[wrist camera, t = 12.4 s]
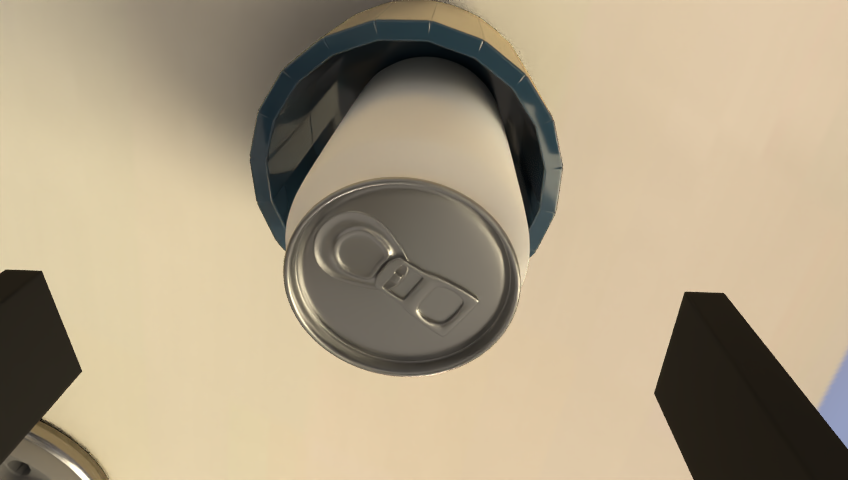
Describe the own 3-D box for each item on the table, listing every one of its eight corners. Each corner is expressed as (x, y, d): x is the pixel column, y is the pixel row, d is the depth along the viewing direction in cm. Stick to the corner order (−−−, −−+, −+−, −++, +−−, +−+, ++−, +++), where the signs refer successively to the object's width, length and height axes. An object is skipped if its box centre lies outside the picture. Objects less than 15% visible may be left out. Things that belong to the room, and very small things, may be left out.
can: (408, 19, 21) (359, 95, 10) (533, 117, 22) (600, 269, 12) (325, 145, 23) (218, 307, 13) (441, 224, 25) (430, 425, 15)
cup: (312, 226, 26) (272, 304, 21) (288, -3, 21) (226, 16, 15) (522, 234, 26) (541, 315, 20) (550, 1, 21) (585, 22, 15)
